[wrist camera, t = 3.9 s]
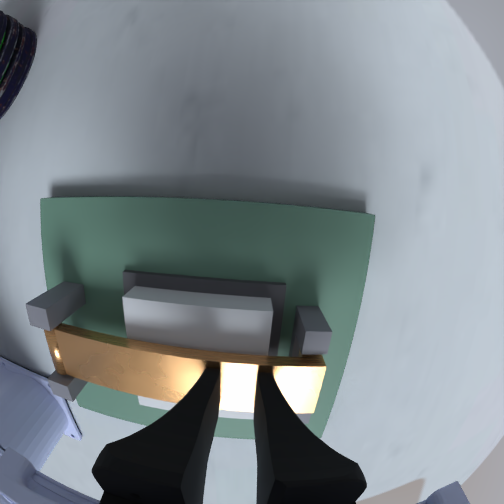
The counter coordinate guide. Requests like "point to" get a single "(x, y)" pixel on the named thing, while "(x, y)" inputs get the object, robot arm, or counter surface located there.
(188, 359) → the hold-down strap
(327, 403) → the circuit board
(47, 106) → the counter surface
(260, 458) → the robot arm
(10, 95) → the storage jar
